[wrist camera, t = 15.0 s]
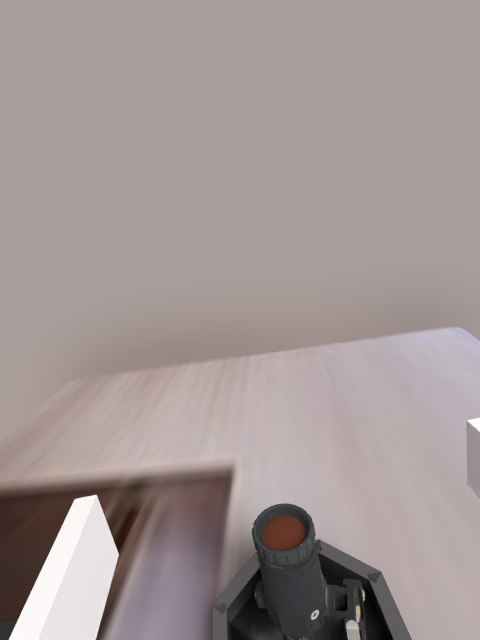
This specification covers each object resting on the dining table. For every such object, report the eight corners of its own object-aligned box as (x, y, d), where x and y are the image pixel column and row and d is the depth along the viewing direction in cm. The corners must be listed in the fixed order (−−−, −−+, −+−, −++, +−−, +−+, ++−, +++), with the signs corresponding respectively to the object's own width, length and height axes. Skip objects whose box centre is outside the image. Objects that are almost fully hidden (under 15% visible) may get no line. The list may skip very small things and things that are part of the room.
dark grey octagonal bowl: (218, 802, 28) (211, 783, 28) (216, 576, 46) (212, 560, 45) (454, 753, 29) (454, 733, 28) (364, 546, 46) (362, 530, 45)
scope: (357, 579, 28) (227, 567, 31) (372, 700, 32) (256, 680, 35) (353, 494, 35) (248, 491, 38) (366, 601, 39) (271, 591, 42)
